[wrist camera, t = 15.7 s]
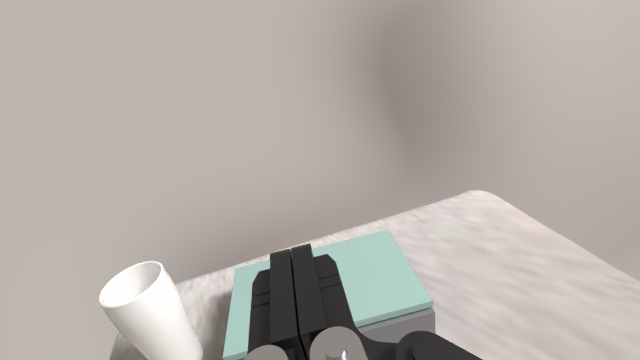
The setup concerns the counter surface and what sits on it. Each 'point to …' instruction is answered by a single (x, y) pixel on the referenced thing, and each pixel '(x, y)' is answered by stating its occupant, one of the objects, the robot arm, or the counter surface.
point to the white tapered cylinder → (151, 313)
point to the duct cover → (358, 282)
